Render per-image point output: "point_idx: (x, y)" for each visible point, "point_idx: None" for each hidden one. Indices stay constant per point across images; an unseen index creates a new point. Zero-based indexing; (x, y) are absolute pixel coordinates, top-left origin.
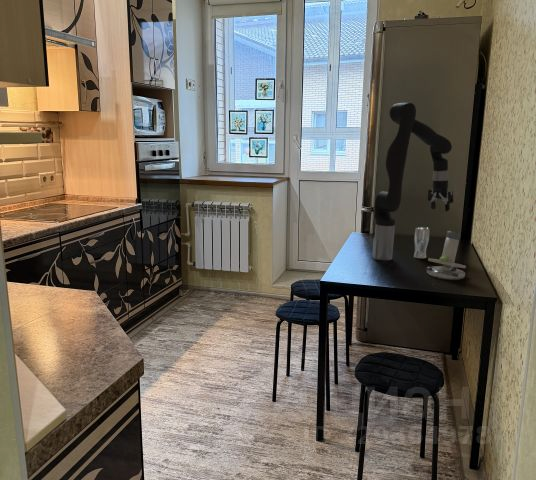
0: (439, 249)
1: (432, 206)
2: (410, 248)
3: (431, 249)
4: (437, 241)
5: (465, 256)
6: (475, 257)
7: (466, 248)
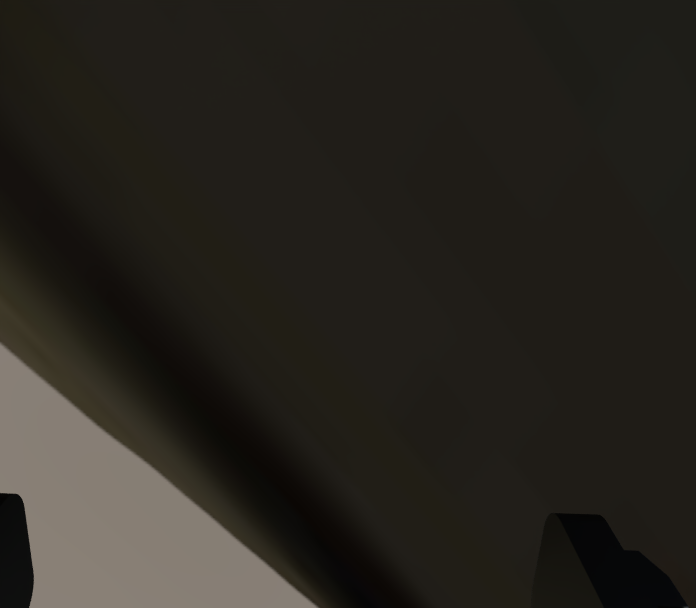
0: (389, 305)
1: (599, 578)
2: (617, 43)
3: (436, 231)
4: None
5: (66, 285)
6: (4, 333)
7: (286, 531)
